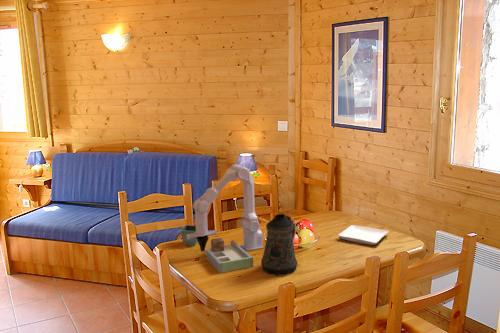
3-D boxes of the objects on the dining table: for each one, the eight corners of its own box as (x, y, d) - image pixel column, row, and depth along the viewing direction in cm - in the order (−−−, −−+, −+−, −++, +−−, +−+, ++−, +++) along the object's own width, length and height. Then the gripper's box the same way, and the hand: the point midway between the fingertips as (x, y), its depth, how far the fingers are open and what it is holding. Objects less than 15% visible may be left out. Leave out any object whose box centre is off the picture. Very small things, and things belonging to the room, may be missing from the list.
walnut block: (220, 247, 244) (220, 237, 243) (224, 250, 239) (223, 241, 238) (211, 248, 242) (210, 239, 241) (214, 252, 237) (214, 242, 236)
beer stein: (259, 275, 217) (258, 221, 212) (264, 258, 235) (263, 208, 230) (296, 276, 214) (296, 222, 209) (298, 259, 233) (298, 209, 228)
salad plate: (389, 236, 264) (389, 230, 263) (376, 248, 247) (376, 242, 246) (351, 229, 275) (351, 224, 275) (337, 241, 258) (337, 235, 257)
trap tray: (233, 248, 249) (232, 240, 248) (253, 266, 226) (252, 257, 225) (202, 254, 242) (202, 245, 241) (219, 272, 219) (219, 263, 219)
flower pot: (197, 247, 251) (196, 231, 249) (180, 246, 253) (180, 230, 251) (202, 241, 260) (201, 225, 258) (186, 240, 261) (185, 224, 260)
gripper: (213, 219, 241) (213, 245, 244) (184, 223, 236) (185, 250, 238) (217, 223, 235) (218, 250, 238) (188, 228, 229) (190, 255, 232)
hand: (202, 250), depth 237 cm, fingers closed
